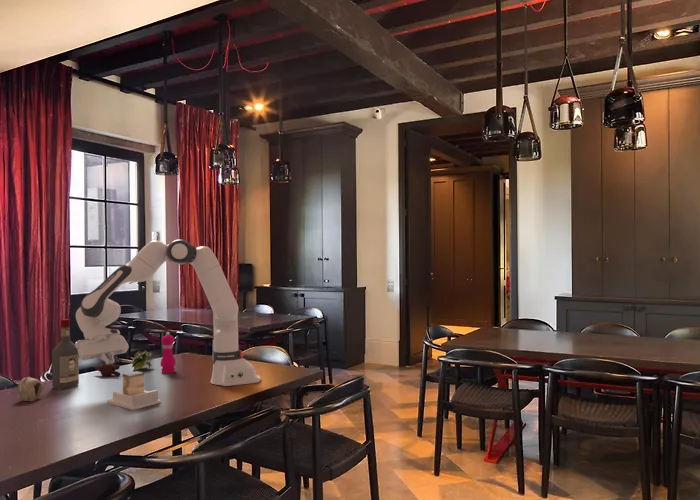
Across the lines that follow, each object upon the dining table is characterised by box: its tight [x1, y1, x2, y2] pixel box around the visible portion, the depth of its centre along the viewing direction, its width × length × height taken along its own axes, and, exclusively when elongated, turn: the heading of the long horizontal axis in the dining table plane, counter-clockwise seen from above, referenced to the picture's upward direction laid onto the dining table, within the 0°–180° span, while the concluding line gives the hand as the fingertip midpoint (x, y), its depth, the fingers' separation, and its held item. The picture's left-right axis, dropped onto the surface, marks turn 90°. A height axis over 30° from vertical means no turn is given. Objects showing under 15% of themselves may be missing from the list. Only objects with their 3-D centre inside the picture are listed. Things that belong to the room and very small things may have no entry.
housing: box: [107, 389, 162, 411], centre depth 214 cm, size 18×12×5 cm
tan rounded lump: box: [16, 376, 45, 402], centre depth 221 cm, size 9×8×10 cm
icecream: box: [93, 361, 121, 377], centre depth 264 cm, size 7×7×15 cm
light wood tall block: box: [121, 370, 145, 396], centre depth 214 cm, size 5×6×10 cm
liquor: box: [51, 318, 80, 390], centre depth 243 cm, size 9×9×30 cm
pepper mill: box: [160, 331, 176, 374], centre depth 271 cm, size 7×7×20 cm
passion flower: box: [130, 350, 154, 372], centre depth 278 cm, size 11×11×12 cm
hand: (110, 362), depth 224 cm, fingers closed
